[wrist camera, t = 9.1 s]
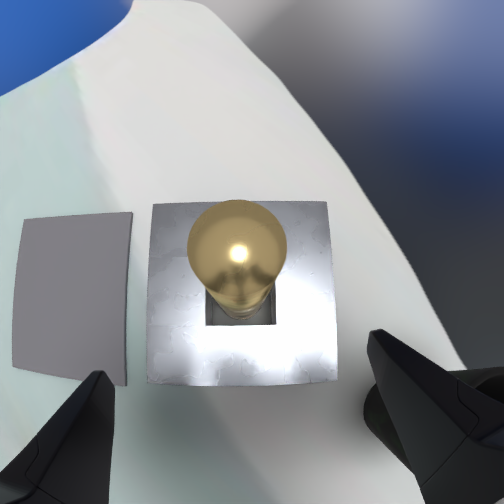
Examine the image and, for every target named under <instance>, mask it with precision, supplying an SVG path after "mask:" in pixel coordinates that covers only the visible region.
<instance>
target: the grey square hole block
mask: <svg viewBox="0 0 504 504" xmlns="http://www.w3.org/2000/svg"><path fill="white" fill-rule="evenodd" d="M251 202H254V203H257V204H259V205H261V206H263V207H264V208H266V209H268V210H269V211H270V212H271V213H272V214H273V215H274V216H275V217H276V218H277V219H278V221H279V222H280V224H281V226H282V227H283V230H284V232H285V235H286V240H287V255H286V260H285V263H284V266H283V268H282V270H281V272H280V274H279V275H278V277H277V279H276V281H275V283H274V284H273V286H272V288H271V290H270V293H271V325H254V326H212V295H211V294H210V293H209V292H208V290H207V289H206V288H205V287H204V285H203V284H202V283H201V282H200V280H199V279H198V278H197V276H196V275H195V274H194V272H193V270H192V268H191V266H190V263H189V260H188V255H187V242H188V237H189V233H190V231H191V228H192V226H193V225H194V223H195V221H196V220H197V219H198V217H199V216H200V215H201V214H202V213H203V212H205V211H206V210H207V209H208V208H210V207H212V206H214V205H216V204H218V203H221V202H192V203H165V204H153V211H152V222H151V235H150V249H149V266H148V288H147V383H153V384H168V385H189V386H267V385H288V384H303V383H316V382H327V381H337V380H338V364H337V330H336V308H335V291H334V276H333V263H332V251H331V240H330V229H329V220H328V210H327V202H322V201H251Z"/></svg>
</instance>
